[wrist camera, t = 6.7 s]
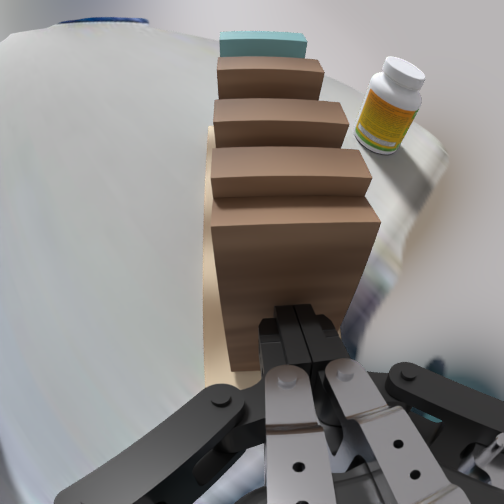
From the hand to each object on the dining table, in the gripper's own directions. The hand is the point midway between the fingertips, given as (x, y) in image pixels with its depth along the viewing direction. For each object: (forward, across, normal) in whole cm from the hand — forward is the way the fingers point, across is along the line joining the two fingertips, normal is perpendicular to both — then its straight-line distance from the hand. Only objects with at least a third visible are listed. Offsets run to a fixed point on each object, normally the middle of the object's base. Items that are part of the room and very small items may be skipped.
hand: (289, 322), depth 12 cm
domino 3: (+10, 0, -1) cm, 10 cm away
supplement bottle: (+19, -13, -8) cm, 25 cm away
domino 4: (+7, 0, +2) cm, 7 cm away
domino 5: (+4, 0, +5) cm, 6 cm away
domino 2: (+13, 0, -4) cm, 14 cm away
